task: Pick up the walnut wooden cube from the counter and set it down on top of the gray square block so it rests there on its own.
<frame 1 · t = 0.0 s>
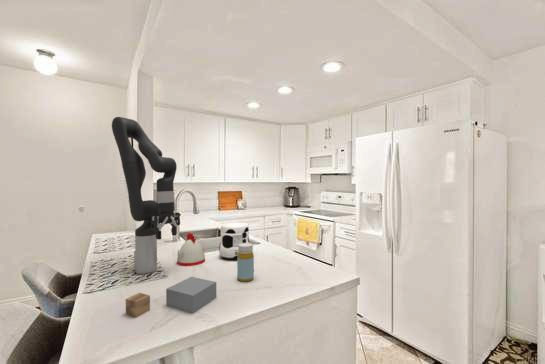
hand: (166, 237, 114), 17 cm above the counter, tool pointing down, fingers open, 8 cm apart
walnut cube: (138, 312, 82), on the counter
kitchen timer: (191, 262, 133), on the counter
gray square block: (192, 302, 90), on the counter
milk container: (234, 256, 141), on the counter
bottle: (245, 279, 109), on the counter
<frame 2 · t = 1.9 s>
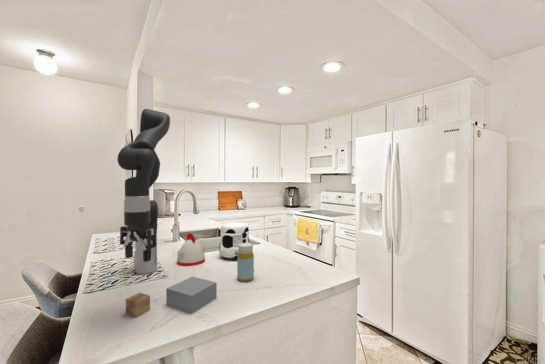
hand: (137, 259, 82), 17 cm above the counter, tool pointing down, fingers open, 8 cm apart
nothing on the counter moved.
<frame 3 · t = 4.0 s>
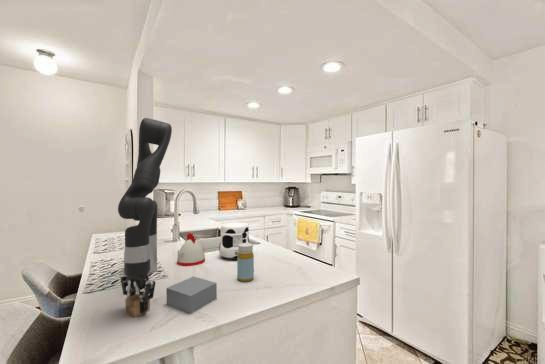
hand: (137, 309, 82), 1 cm above the counter, tool pointing down, fingers closed on walnut cube, 5 cm apart
walnut cube: (137, 312, 82), on the counter, touching gripper
everything else where it was.
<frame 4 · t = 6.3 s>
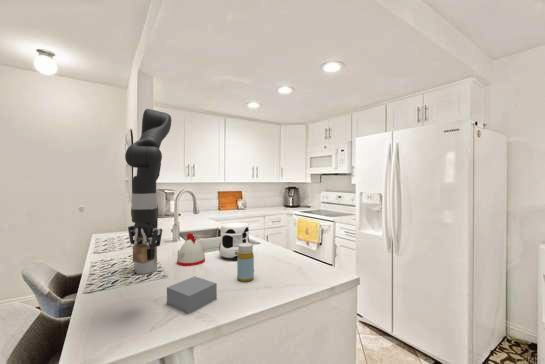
hand: (145, 258, 83), 17 cm above the counter, tool pointing down, fingers closed on walnut cube, 5 cm apart
walnut cube: (144, 260, 83), point 17 cm above the counter, touching gripper
everything else where it was.
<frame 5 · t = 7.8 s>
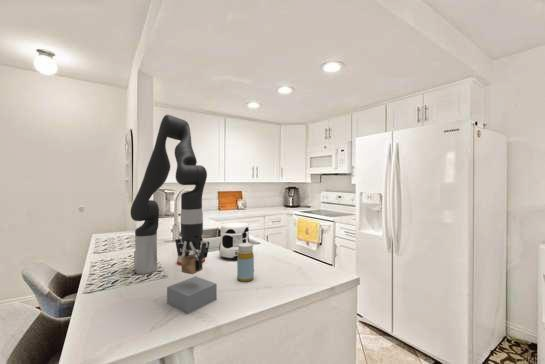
hand: (192, 269, 89), 11 cm above the counter, tool pointing down, fingers closed on walnut cube, 5 cm apart
walnut cube: (192, 270, 89), point 11 cm above the counter, touching gripper
everything else where it was.
when the fingers open (8 cm above the counter, at t = 8.9 s): walnut cube drops 2 cm, resting on gray square block.
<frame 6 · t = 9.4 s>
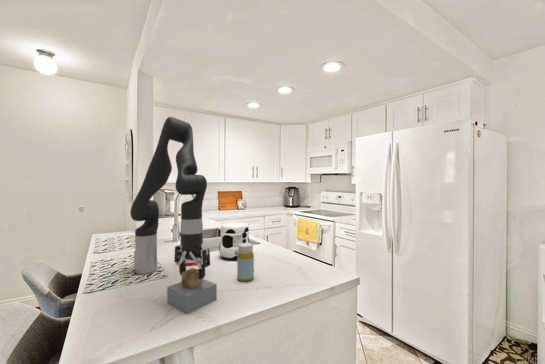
hand: (192, 276, 89), 9 cm above the counter, tool pointing down, fingers open, 8 cm apart
walnut cube: (192, 285, 90), point 6 cm above the counter, touching gray square block
gray square block: (192, 302, 90), on the counter, touching walnut cube
everything else where it was.
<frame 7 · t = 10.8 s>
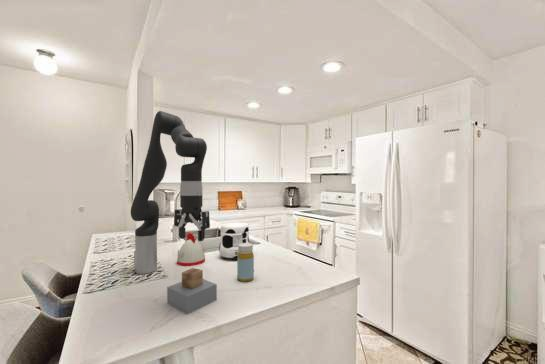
hand: (191, 239, 89), 22 cm above the counter, tool pointing down, fingers open, 8 cm apart
walnut cube: (192, 285, 90), point 6 cm above the counter
gray square block: (192, 302, 89), on the counter
everything else where it was.
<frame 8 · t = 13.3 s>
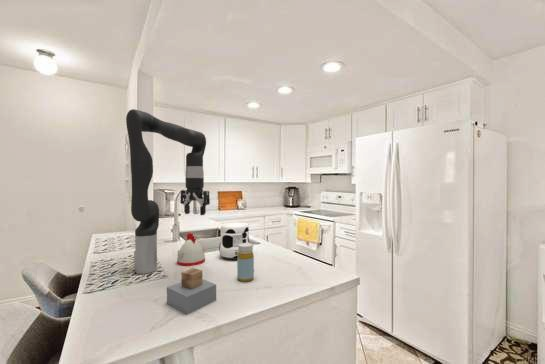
hand: (194, 214, 109), 28 cm above the counter, tool pointing down, fingers open, 8 cm apart
nothing on the counter moved.
at the end: walnut cube inside the target area on the gray square block (0.3 cm from its centre), point 6.0 cm above the gray square block's base; the gripper is holding nothing; walnut cube tilted 0° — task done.
